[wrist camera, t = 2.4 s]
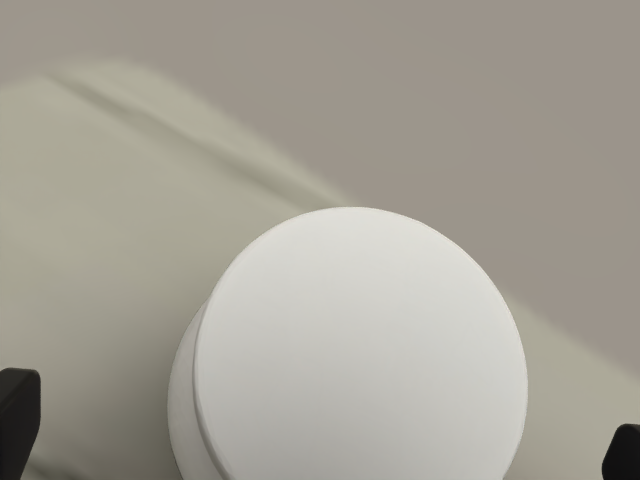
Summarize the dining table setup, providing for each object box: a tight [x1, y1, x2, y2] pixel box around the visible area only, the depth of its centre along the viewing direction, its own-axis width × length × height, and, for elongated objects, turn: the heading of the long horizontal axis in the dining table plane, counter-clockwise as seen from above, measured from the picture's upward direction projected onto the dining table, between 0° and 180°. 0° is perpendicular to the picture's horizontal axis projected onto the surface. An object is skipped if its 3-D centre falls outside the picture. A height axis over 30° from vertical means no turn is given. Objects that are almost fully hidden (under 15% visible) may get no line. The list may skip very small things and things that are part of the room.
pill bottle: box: [167, 207, 528, 480], centre depth 12 cm, size 6×6×10 cm
